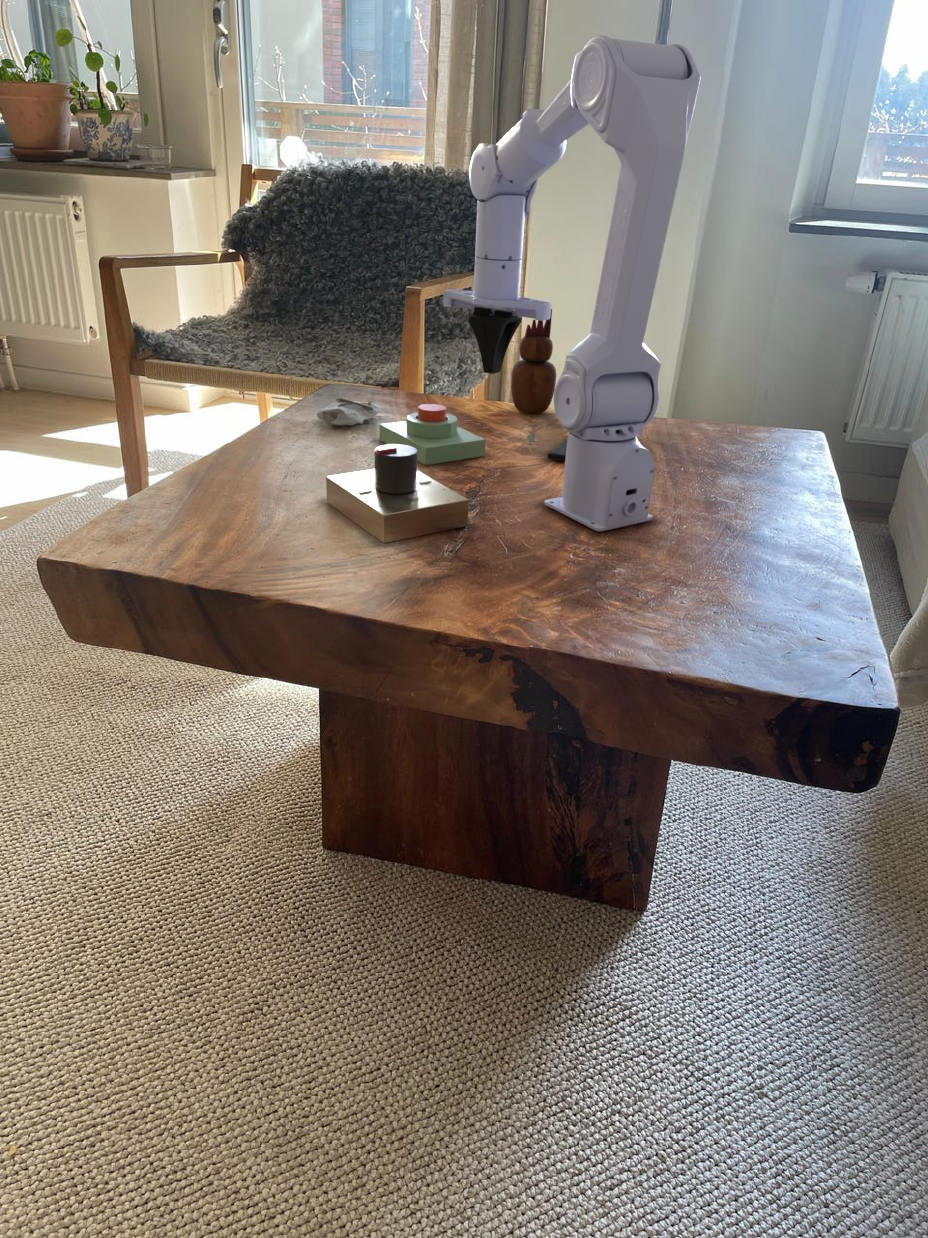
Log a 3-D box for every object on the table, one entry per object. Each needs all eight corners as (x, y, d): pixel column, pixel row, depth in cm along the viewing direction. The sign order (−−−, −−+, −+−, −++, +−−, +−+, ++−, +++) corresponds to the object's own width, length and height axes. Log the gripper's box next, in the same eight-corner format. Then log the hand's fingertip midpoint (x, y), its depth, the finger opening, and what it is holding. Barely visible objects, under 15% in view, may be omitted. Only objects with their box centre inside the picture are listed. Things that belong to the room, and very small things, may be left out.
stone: (341, 410, 132) (340, 392, 130) (386, 416, 129) (386, 398, 128) (310, 426, 123) (309, 407, 122) (358, 432, 121) (357, 413, 120)
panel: (467, 526, 93) (469, 497, 91) (383, 543, 88) (383, 513, 86) (405, 488, 102) (406, 462, 101) (326, 502, 97) (325, 474, 96)
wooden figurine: (553, 407, 138) (562, 307, 132) (552, 417, 133) (562, 312, 126) (510, 404, 139) (516, 304, 132) (507, 414, 134) (515, 309, 127)
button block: (484, 455, 115) (486, 425, 113) (425, 465, 110) (426, 433, 108) (436, 432, 123) (437, 403, 122) (379, 439, 119) (379, 410, 117)
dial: (403, 477, 96) (404, 439, 94) (424, 490, 93) (425, 450, 91) (367, 483, 94) (367, 444, 92) (387, 496, 91) (387, 455, 89)
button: (451, 422, 115) (451, 409, 114) (427, 425, 113) (427, 411, 112) (436, 415, 117) (436, 402, 117) (412, 418, 116) (413, 405, 115)
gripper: (430, 254, 108) (427, 367, 114) (534, 266, 101) (525, 386, 107) (462, 250, 113) (458, 359, 119) (563, 262, 106) (553, 377, 112)
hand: (492, 371), depth 114 cm, fingers closed
